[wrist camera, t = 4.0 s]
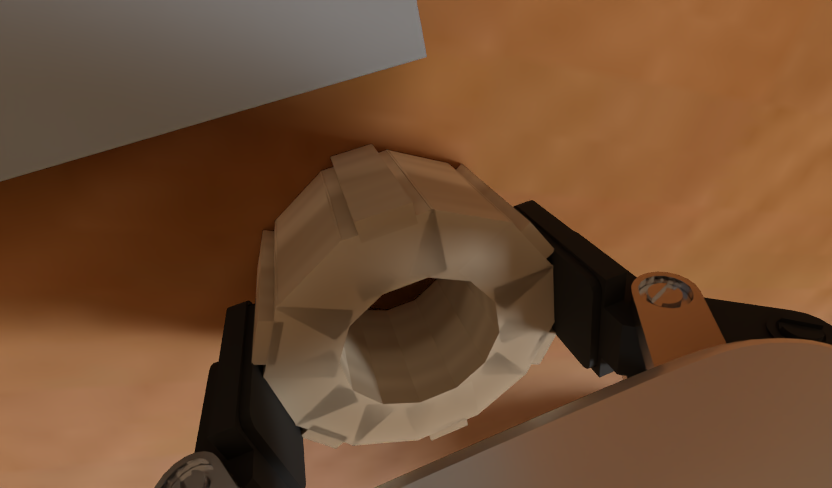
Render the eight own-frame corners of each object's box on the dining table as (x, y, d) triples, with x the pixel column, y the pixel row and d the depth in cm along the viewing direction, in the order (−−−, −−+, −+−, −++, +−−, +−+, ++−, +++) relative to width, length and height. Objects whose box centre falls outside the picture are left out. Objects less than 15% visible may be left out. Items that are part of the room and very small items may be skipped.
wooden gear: (473, 111, 12) (553, 154, 8) (499, 307, 16) (558, 386, 13) (217, 192, 11) (191, 277, 7) (319, 377, 15) (332, 483, 12)
